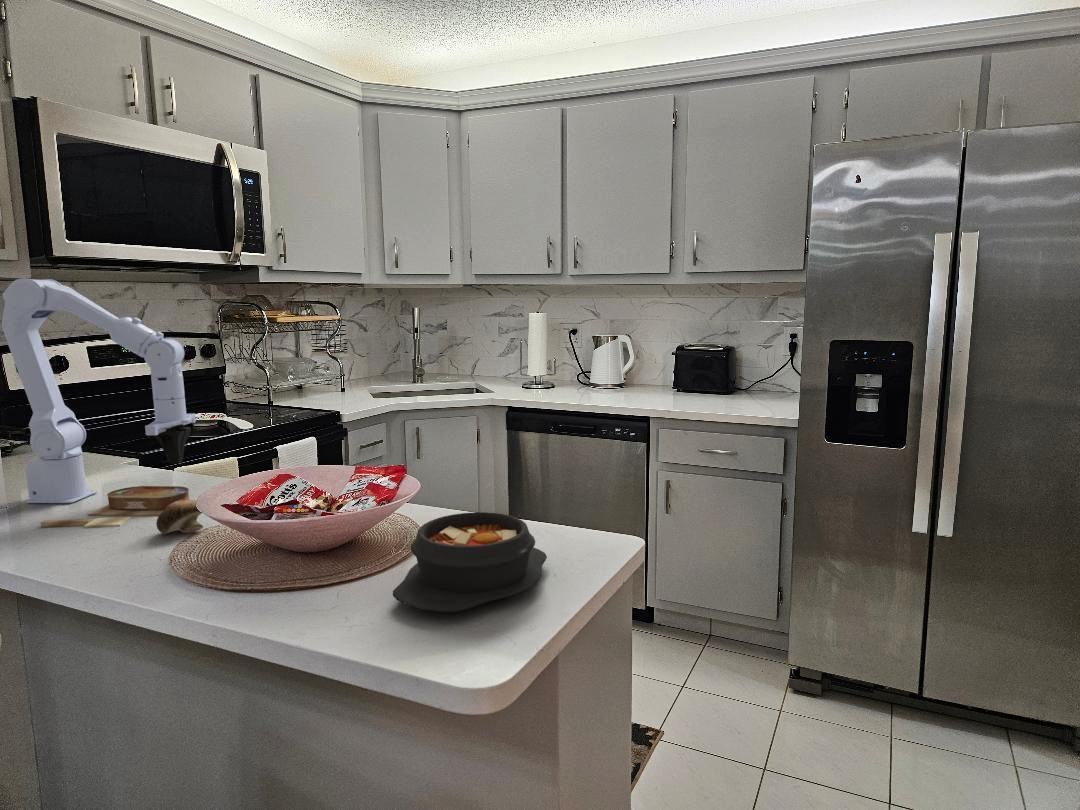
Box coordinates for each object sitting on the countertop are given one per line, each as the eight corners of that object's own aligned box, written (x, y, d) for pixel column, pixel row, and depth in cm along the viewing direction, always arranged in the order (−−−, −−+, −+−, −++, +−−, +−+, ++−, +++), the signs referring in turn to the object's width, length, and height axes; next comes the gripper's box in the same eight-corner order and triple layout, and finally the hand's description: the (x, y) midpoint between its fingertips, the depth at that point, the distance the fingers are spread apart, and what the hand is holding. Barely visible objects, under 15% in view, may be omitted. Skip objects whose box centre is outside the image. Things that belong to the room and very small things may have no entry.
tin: (197, 486, 141) (171, 495, 133) (198, 502, 141) (172, 511, 133) (126, 485, 143) (96, 493, 134) (127, 500, 143) (97, 510, 135)
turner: (35, 529, 125) (35, 525, 125) (49, 521, 129) (49, 517, 129) (120, 526, 126) (119, 522, 126) (131, 518, 131) (130, 514, 131)
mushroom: (217, 514, 121) (195, 485, 121) (174, 542, 117) (150, 512, 116) (212, 525, 128) (190, 497, 128) (170, 552, 123) (148, 523, 123)
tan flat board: (87, 515, 133) (87, 513, 133) (117, 502, 141) (117, 500, 141) (175, 515, 132) (175, 514, 132) (199, 502, 140) (199, 500, 140)
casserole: (476, 640, 83) (473, 571, 81) (359, 606, 92) (356, 544, 91) (576, 568, 104) (576, 512, 103) (473, 546, 113) (472, 496, 112)
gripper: (167, 403, 137) (173, 471, 139) (206, 393, 151) (212, 455, 154) (132, 403, 138) (139, 471, 140) (175, 393, 152) (181, 455, 154)
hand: (175, 463), depth 147 cm, fingers closed
